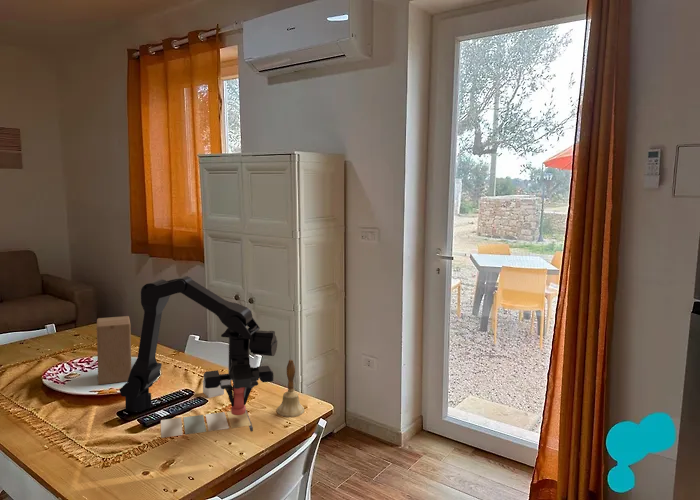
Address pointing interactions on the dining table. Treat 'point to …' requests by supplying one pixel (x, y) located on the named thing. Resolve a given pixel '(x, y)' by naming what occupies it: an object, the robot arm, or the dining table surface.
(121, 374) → the wooden block
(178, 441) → the dining table surface
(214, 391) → the die
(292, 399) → the hand bell
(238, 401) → the pawn
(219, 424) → the board
